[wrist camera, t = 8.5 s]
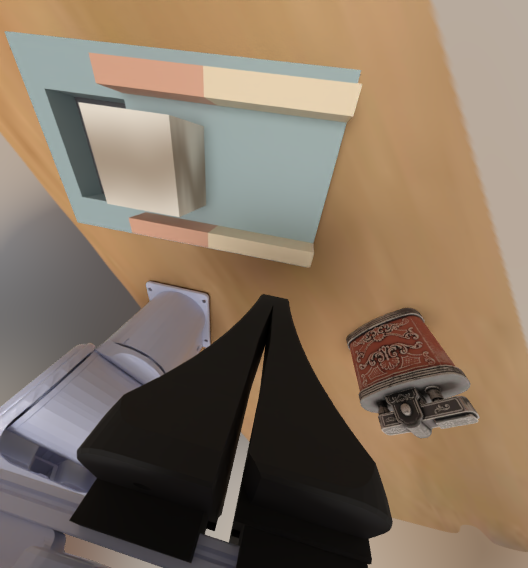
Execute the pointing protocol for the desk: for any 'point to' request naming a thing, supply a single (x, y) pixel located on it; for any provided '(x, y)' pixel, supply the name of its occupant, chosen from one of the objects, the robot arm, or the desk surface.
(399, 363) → the lighter
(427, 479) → the desk surface
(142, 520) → the robot arm
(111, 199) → the block
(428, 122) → the desk surface
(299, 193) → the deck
